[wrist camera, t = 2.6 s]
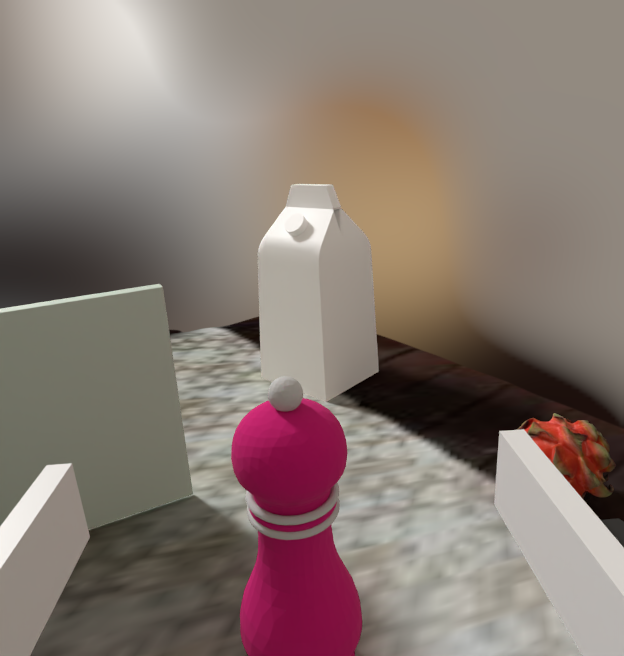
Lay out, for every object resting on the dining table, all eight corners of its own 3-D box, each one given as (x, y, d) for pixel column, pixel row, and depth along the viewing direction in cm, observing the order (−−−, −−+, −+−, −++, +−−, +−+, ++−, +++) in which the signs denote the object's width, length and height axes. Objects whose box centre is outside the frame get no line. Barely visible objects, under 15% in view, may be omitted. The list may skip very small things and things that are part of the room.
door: (192, 494, 49) (162, 286, 42) (-62, 579, 40) (-151, 336, 33) (185, 479, 51) (155, 280, 44) (-58, 557, 42) (-140, 325, 36)
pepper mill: (293, 603, 37) (273, 341, 31) (383, 653, 33) (383, 366, 27) (222, 686, 32) (178, 390, 25) (320, 759, 28) (300, 429, 21)
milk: (378, 371, 74) (377, 181, 65) (325, 402, 66) (317, 190, 57) (315, 352, 82) (307, 180, 73) (261, 378, 74) (244, 188, 65)
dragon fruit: (599, 493, 49) (512, 559, 44) (537, 419, 53) (449, 473, 48) (662, 460, 42) (567, 534, 38) (585, 378, 46) (490, 436, 41)
